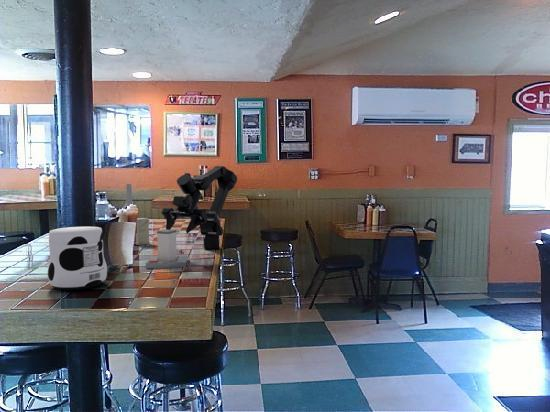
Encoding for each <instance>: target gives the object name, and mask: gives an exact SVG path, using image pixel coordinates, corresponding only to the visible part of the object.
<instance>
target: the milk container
mask: <svg viewBox="0 0 550 412" xmlns="http://www.w3.org/2000/svg"><path fill="white" fill-rule="evenodd" d="M103 239H104V234H103V229H102V227H99V226H71V227H69V226H68V227H61V228H55V229H51V230H49V232H48V242H49V245H48V248H49V249H48V250H49V263H48V267H47V278H48V279H47V281H48V283H49V285H50V286H51V287H52V288H54V289H58V290H63V291H64V290H65V291H69V290H70V291H74V290H75V291H76V290H85V289H90V288H93V287H96V286H99V285H101V284H103V283H104V282H105V281H106V279H107V277H108V266H107V262H106V260H105V256H104V240H103Z"/></svg>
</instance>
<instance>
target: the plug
mask: <svg viewBox="0 0 550 412" xmlns="http://www.w3.org/2000/svg"><path fill="white" fill-rule="evenodd" d="M156 235H157V237H156V238H157V256H158V261H177V255H178V254H177V253H178V252H177V251H178V250H177V249H178V248H177V245H178V244H177V229H170V230H167V229H166V228H165V229H161V230H157V231H156Z"/></svg>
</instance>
